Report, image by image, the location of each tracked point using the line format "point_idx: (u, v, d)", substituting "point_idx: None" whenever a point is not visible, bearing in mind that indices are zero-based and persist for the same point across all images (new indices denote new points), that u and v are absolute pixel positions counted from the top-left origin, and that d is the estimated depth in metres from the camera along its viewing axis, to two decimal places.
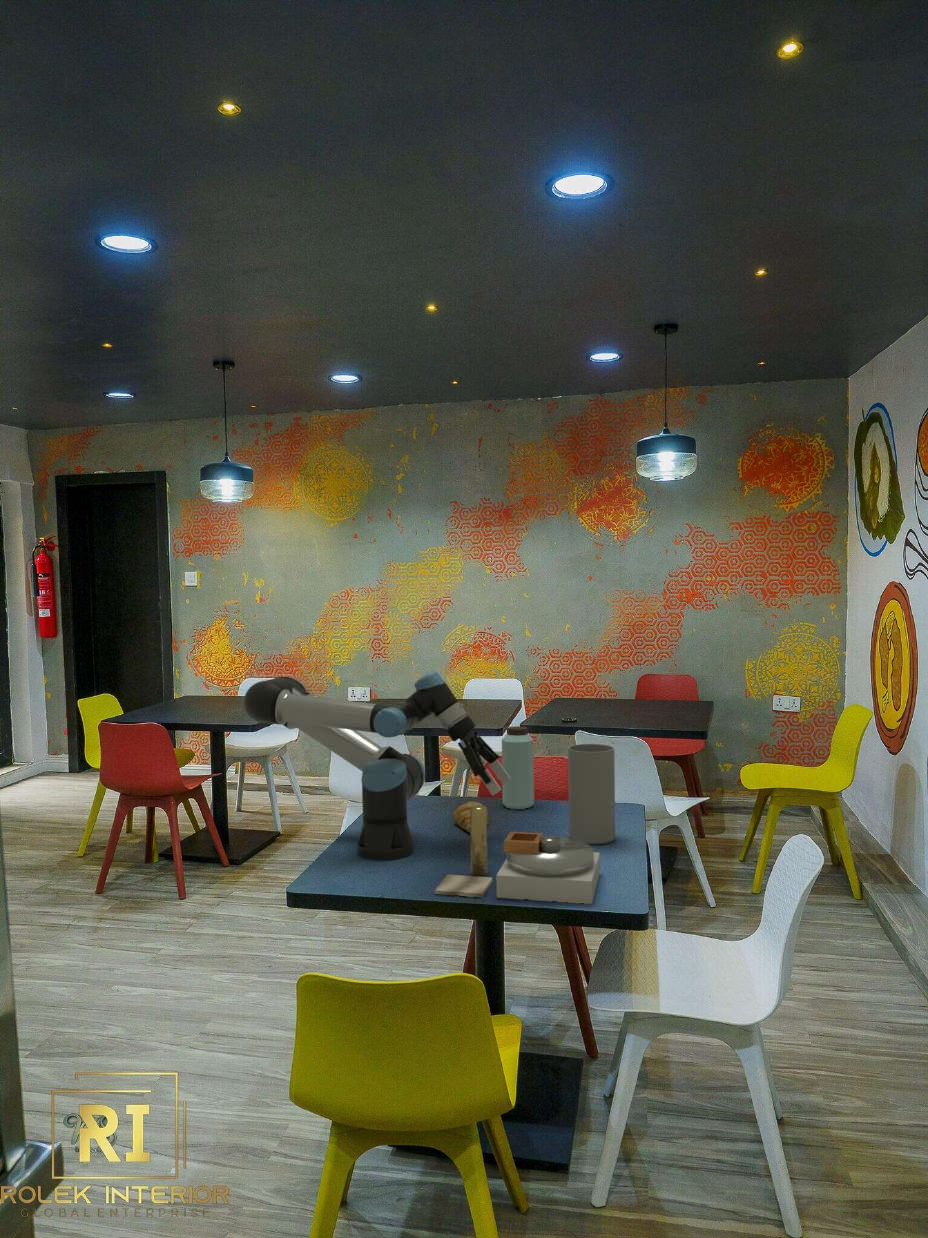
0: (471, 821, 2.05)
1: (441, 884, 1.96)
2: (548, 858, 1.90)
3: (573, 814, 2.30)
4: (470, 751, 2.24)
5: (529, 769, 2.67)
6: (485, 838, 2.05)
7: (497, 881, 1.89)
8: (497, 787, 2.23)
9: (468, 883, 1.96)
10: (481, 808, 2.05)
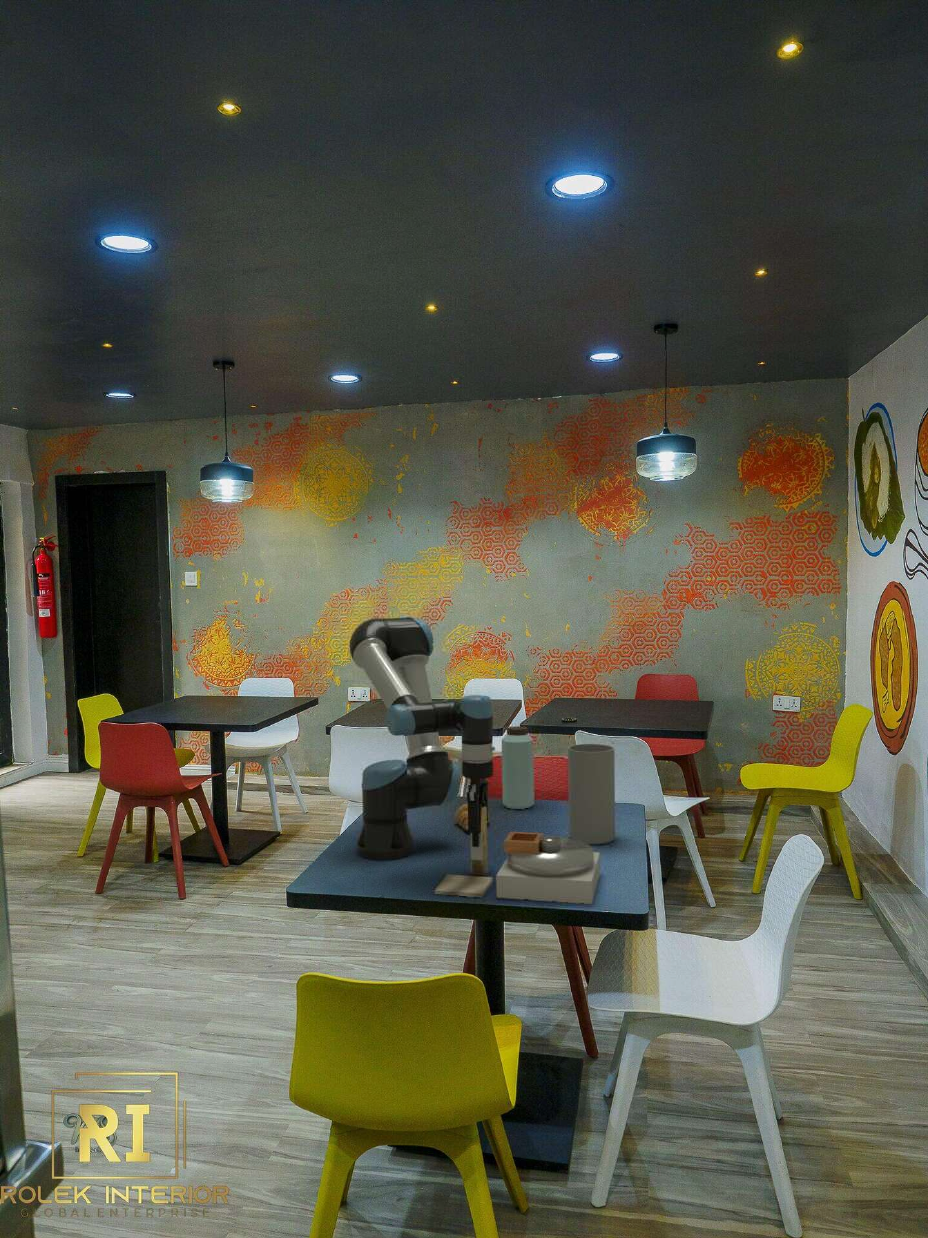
0: None
1: (441, 884, 1.96)
2: (548, 858, 1.90)
3: (573, 814, 2.30)
4: (476, 809, 2.00)
5: (529, 769, 2.67)
6: (485, 838, 2.05)
7: (497, 881, 1.89)
8: (480, 855, 2.03)
9: (468, 883, 1.96)
10: None
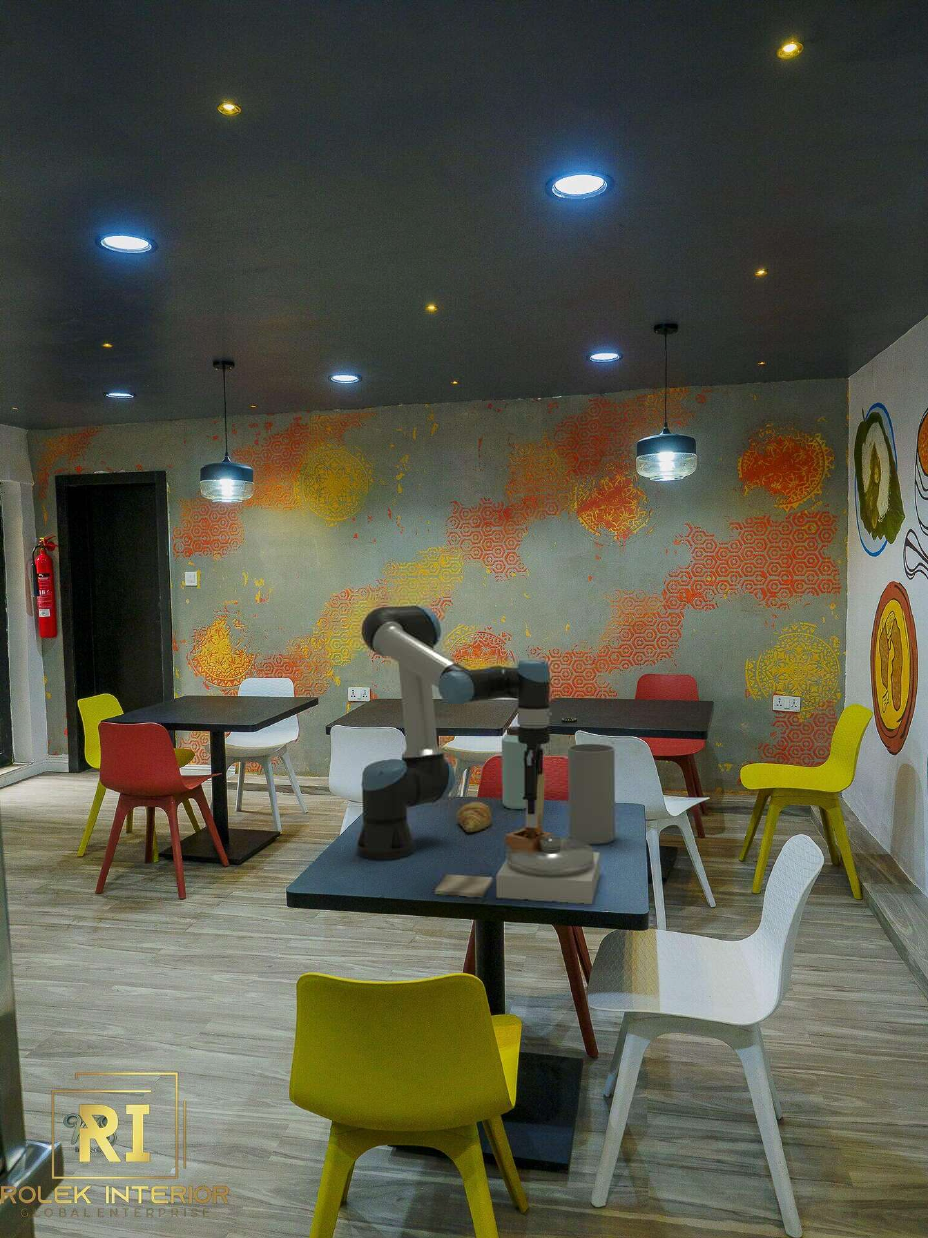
0: None
1: (441, 884, 1.96)
2: (535, 856, 1.92)
3: (573, 814, 2.30)
4: (533, 774, 1.95)
5: None
6: (541, 806, 2.00)
7: (497, 881, 1.89)
8: (535, 823, 1.98)
9: (468, 883, 1.96)
10: (539, 775, 2.01)
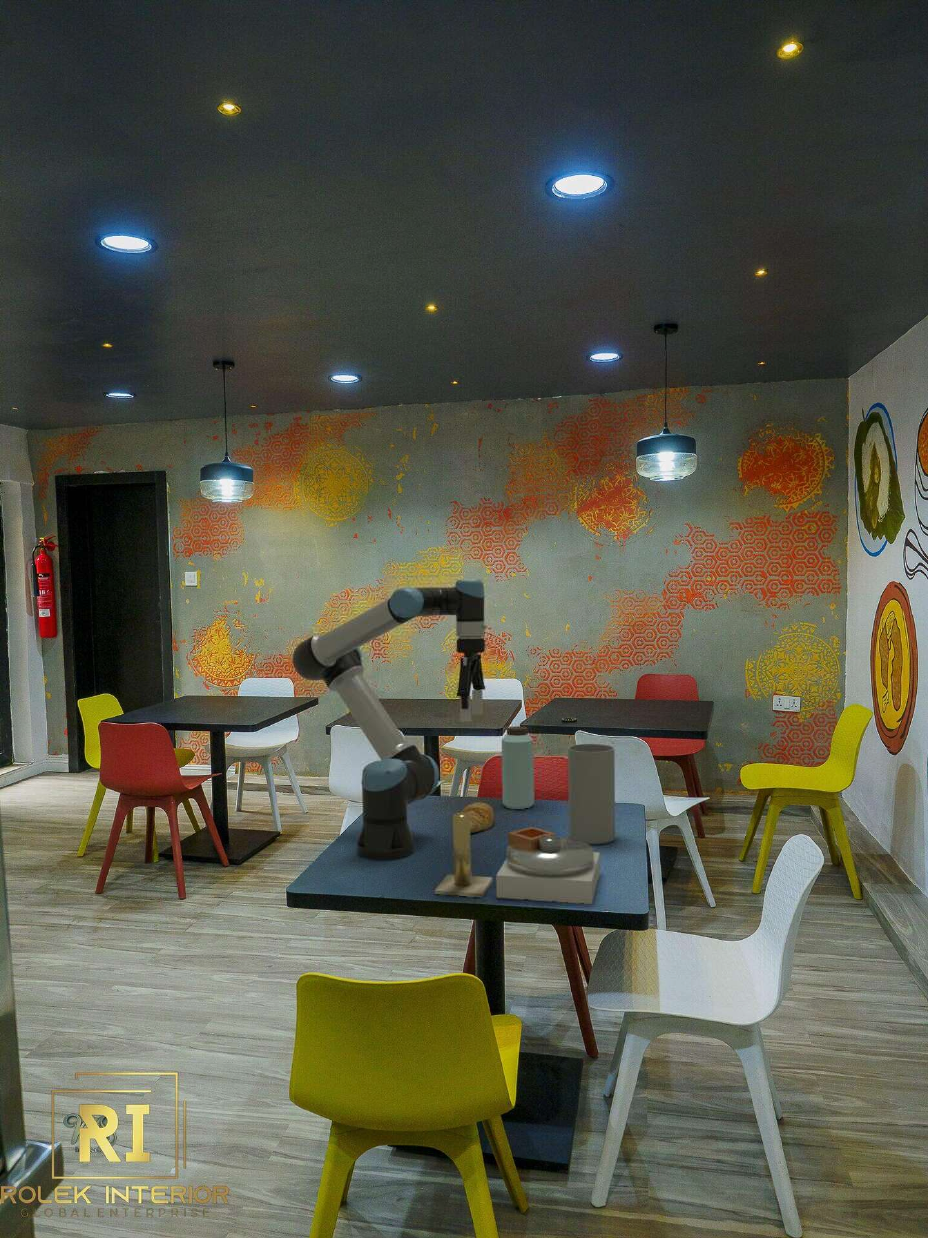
0: (453, 829, 1.95)
1: (441, 884, 1.96)
2: (531, 855, 1.92)
3: (573, 814, 2.30)
4: (467, 672, 2.18)
5: (529, 769, 2.67)
6: (467, 847, 1.94)
7: (497, 881, 1.89)
8: (469, 717, 2.19)
9: None
10: (463, 816, 1.94)
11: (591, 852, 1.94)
